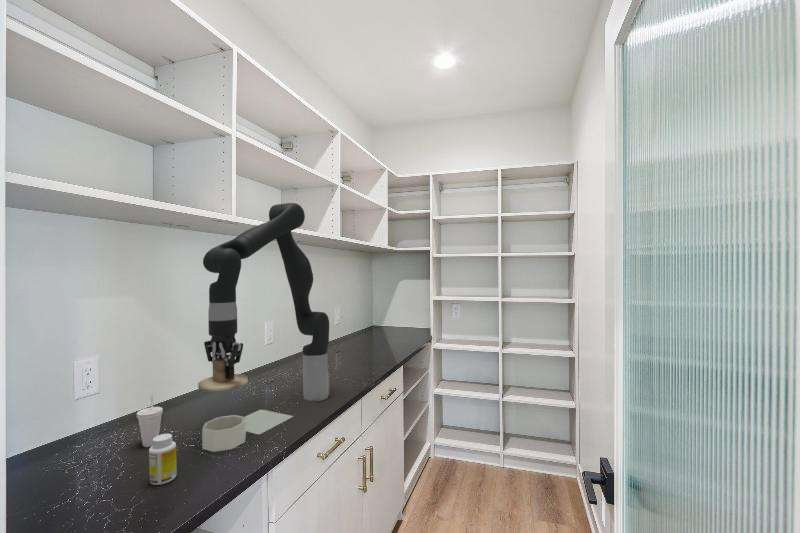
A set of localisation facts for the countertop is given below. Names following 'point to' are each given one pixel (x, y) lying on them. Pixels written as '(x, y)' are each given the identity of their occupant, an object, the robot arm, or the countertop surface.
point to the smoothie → (149, 423)
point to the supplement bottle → (162, 460)
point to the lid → (221, 379)
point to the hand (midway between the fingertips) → (223, 377)
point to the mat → (264, 421)
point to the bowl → (224, 433)
